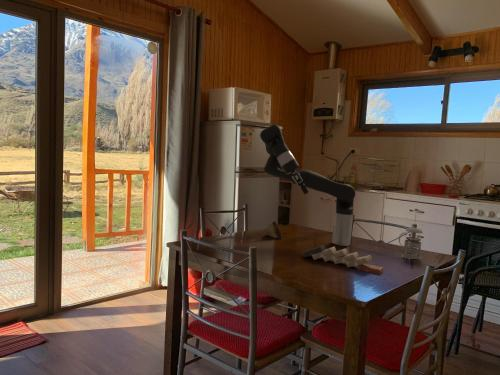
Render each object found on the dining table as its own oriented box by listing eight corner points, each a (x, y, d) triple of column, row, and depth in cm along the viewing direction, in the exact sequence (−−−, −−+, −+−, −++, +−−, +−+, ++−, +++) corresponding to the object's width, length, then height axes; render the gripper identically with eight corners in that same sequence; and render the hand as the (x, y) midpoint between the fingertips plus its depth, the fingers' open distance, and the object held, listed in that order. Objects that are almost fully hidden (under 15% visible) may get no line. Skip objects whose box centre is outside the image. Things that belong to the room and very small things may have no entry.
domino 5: (345, 262, 177) (365, 257, 170) (350, 259, 180) (370, 254, 174) (347, 267, 176) (367, 262, 170) (352, 264, 180) (372, 260, 174)
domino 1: (301, 253, 188) (320, 246, 183) (305, 251, 192) (324, 244, 187) (303, 257, 187) (322, 251, 183) (307, 255, 192) (326, 249, 187)
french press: (423, 261, 196) (429, 210, 194) (398, 258, 198) (404, 208, 196) (419, 256, 206) (424, 208, 203) (395, 253, 208) (400, 206, 206)
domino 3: (322, 256, 183) (342, 250, 178) (326, 254, 187) (345, 248, 183) (324, 261, 183) (344, 255, 178) (328, 259, 187) (347, 253, 182)
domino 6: (357, 265, 174) (380, 269, 169) (360, 262, 178) (383, 267, 173) (356, 270, 174) (379, 275, 169) (359, 267, 179) (382, 272, 174)
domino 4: (333, 259, 181) (353, 254, 175) (336, 256, 185) (357, 251, 180) (334, 264, 180) (355, 259, 175) (338, 261, 184) (358, 257, 179)
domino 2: (311, 255, 185) (330, 248, 181) (315, 253, 190) (334, 246, 185) (313, 260, 185) (332, 253, 180) (317, 257, 189) (336, 251, 184)
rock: (262, 230, 233) (264, 231, 223) (271, 219, 234) (273, 220, 224) (276, 242, 233) (278, 244, 223) (285, 231, 234) (288, 232, 224)
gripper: (283, 168, 199) (300, 198, 196) (279, 164, 186) (298, 196, 183) (296, 160, 198) (314, 190, 195) (293, 156, 185) (313, 188, 182)
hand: (306, 193), depth 189 cm, fingers closed
